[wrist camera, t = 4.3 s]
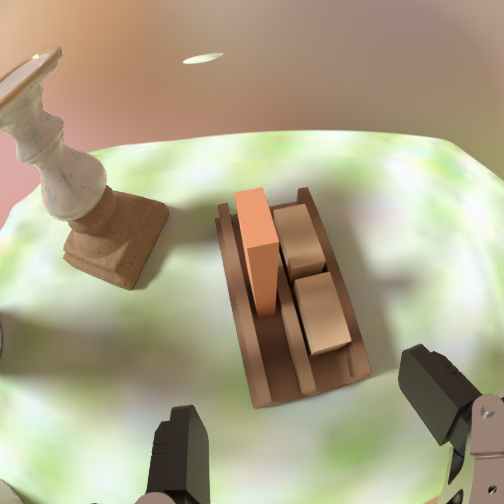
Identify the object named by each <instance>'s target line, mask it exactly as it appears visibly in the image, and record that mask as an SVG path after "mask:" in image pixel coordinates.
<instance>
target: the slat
mask: <svg viewBox="0 0 504 504" xmlns="http://www.w3.org/2000/svg"><path fill="white" fill-rule="evenodd" d="M234 195H235V201H236V207H237V213H238V218H239V224H240V230H241V235H242V241H243V247H244V252H245V258H246V263H247V269H248V275H249V280H250V285H251V290H252V294H253V298H254V303H255V307H256V311H257V316H258V318H260V317H264V316H269V315H273V314H275V304H276V289H277V273H278V255H279V239H278V236H277V232H276V229H275V226H274V222H273V219H272V216H271V213H270V209H269V206H268V203H267V200H266V196H265V193H264V190H263V187H262V188H257V189H252V190H247V191H242V192H237V193H234Z"/></svg>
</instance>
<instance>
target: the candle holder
mask: <svg viewBox="0 0 504 504" xmlns="http://www.w3.org/2000/svg"><path fill="white" fill-rule="evenodd" d="M62 56H63V51H62V49H61V47H60V46H51V47H48V48H46V49H43V50H41V51H39V52H37V53H35V54H34V55H32V56H30V57H29V58H27V59H25V60H24V61H22V62H21V63H19V64H18V65H16V66H15V67H14V68H12V69H11V70H10V71H9V72H7V73H6V74H5V75H4V76H2V77H1V78H0V130H4V131H7V132H8V133H10V134H11V135H12V137H13V138H14V140H15V145H16V159H17V160H18V161H19V162H21V163H27V164H29V165H34V166H36V167H37V168H38V170H39V173H40V178H41V192H42V199H43V203H44V206H45V208H46V210H47V211H48V213H49V214H50V215H51V216H52V217H53V218H55V219H57V220H59V221H68V224H69V226H70V227H71V228H72V230H71V232H70V234H69V236H68V238H67V240H66V242H65V245H64V249H63V250H64V251H65V254H64V257H63V259H64V260H65V261H66V262H68V263H69V264H70V265H71V266H73V267H75V268H77V269H79V270H81V271H83V272H85V273H88V274H90V275H92V276H94V277H97V278H99V279H101V280H104V281H106V282H108V283H111V284H113V285H115V286H118V287H120V288H123V289H126V290H131V289H132V288H133V287H134V285H135V283H136V281H137V279H138V277H139V275H140V273H141V271H142V269H143V267H144V264H145V262H146V260H147V258H148V256H149V254H150V252H151V250H152V248H153V246H154V244H155V242H156V240H157V238H158V236H159V234H160V232H161V230H162V228H163V226H164V224H165V222H166V220H167V217H168V215H169V211H168V209H167V207H166V205H165V204H164V203H161V202H158V201H155V200H151V199H147V198H144V197H140V196H136V195H132V194H128V193H123V192H118V191H113V190H112V189H111V188H110V187H109V186H107V185H106V183H107V175H106V170H105V168H104V166H103V164H102V163H101V162H100V161H99V160H98V159H97V158H96V157H94V156H93V155H90V154H88V153H85V152H82V151H78V150H74V149H72V148H70V147H68V146H67V145H65V143H64V141H63V127H64V122H63V120H62V118H60V117H58V116H54V115H51V114H49V113H48V112H47V111H46V110H45V109H44V107H43V105H42V93H43V82H42V81H43V80H44V79H45V78H46V77H47V76H48V75H49V74H50V73H51V72H52V71H53V70H54V68H55V67H56V66H57V65H58V64H59V62H60V61H61V59H62Z"/></svg>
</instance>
